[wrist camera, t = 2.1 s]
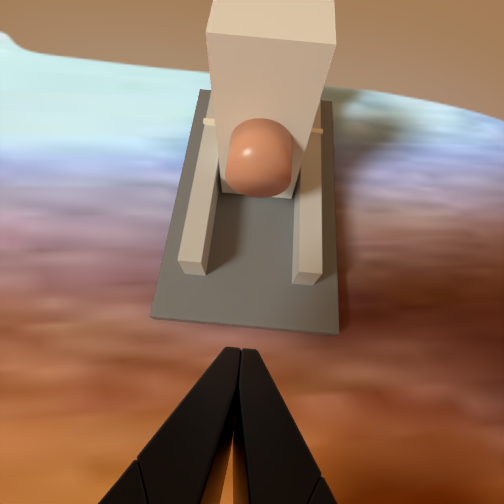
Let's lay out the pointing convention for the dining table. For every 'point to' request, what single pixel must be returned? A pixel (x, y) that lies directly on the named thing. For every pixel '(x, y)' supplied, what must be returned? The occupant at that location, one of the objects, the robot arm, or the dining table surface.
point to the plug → (267, 88)
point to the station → (252, 242)
